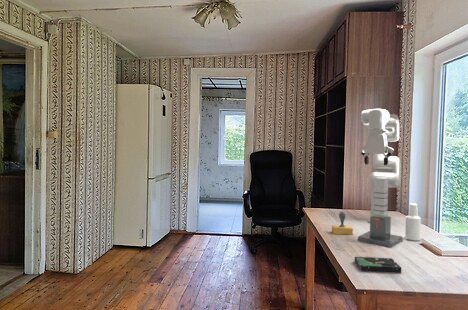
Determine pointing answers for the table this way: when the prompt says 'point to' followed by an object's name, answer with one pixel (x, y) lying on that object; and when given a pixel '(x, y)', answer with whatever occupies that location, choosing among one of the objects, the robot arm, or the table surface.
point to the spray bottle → (413, 223)
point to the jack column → (380, 197)
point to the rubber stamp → (342, 226)
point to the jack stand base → (380, 233)
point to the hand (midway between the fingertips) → (375, 164)
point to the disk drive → (377, 264)
